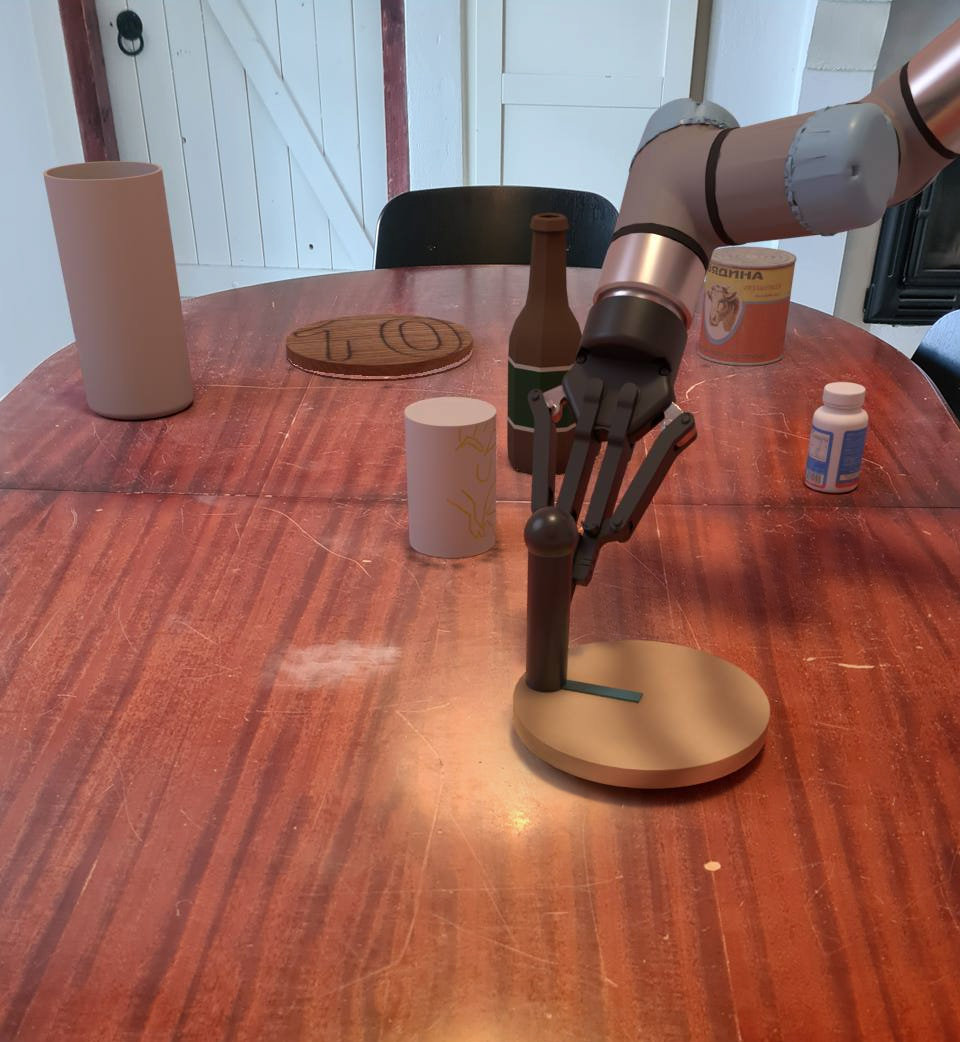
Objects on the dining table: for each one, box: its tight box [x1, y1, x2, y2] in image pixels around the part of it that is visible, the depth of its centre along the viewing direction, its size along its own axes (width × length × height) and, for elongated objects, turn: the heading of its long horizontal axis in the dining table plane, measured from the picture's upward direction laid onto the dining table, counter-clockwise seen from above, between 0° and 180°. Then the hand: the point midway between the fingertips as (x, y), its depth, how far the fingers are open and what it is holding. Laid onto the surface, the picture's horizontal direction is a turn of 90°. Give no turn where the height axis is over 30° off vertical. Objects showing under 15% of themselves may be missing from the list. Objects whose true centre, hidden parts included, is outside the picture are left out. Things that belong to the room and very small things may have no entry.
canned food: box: [697, 246, 797, 367], centre depth 161 cm, size 11×11×12 cm
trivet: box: [285, 313, 474, 381], centre depth 165 cm, size 25×25×2 cm
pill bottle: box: [804, 381, 869, 494], centre depth 124 cm, size 6×5×10 cm
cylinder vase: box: [42, 160, 195, 421], centre depth 141 cm, size 12×12×25 cm
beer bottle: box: [506, 212, 583, 475], centre depth 125 cm, size 8×8×24 cm
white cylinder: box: [403, 396, 497, 559], centre depth 112 cm, size 8×8×12 cm
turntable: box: [512, 505, 771, 790], centre depth 83 cm, size 18×18×14 cm
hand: (551, 623), depth 89 cm, fingers closed
